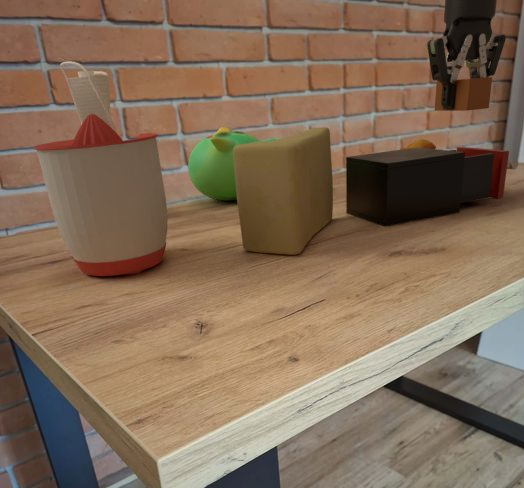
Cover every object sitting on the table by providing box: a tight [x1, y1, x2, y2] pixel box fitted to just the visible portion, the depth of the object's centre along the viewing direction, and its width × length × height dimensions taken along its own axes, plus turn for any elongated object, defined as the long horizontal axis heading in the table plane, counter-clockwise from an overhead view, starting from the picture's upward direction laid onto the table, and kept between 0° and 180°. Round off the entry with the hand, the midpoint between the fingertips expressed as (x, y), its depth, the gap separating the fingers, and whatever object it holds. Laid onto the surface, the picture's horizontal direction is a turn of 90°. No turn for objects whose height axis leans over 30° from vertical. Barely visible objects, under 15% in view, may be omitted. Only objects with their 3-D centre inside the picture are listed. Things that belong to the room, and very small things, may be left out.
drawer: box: [448, 146, 519, 204], centre depth 91 cm, size 18×11×8 cm, turn 112°
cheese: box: [233, 126, 334, 256], centre depth 78 cm, size 22×10×15 cm, turn 151°
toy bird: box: [187, 126, 282, 201], centre depth 109 cm, size 18×17×15 cm
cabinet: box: [345, 147, 465, 227], centre depth 87 cm, size 15×13×10 cm
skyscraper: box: [59, 61, 118, 134], centre depth 95 cm, size 8×8×28 cm
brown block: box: [434, 76, 493, 112], centre depth 85 cm, size 4×8×4 cm, turn 22°
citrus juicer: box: [33, 114, 168, 277], centre depth 70 cm, size 16×17×20 cm
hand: (461, 107), depth 86 cm, fingers closed on brown block, 4 cm apart
